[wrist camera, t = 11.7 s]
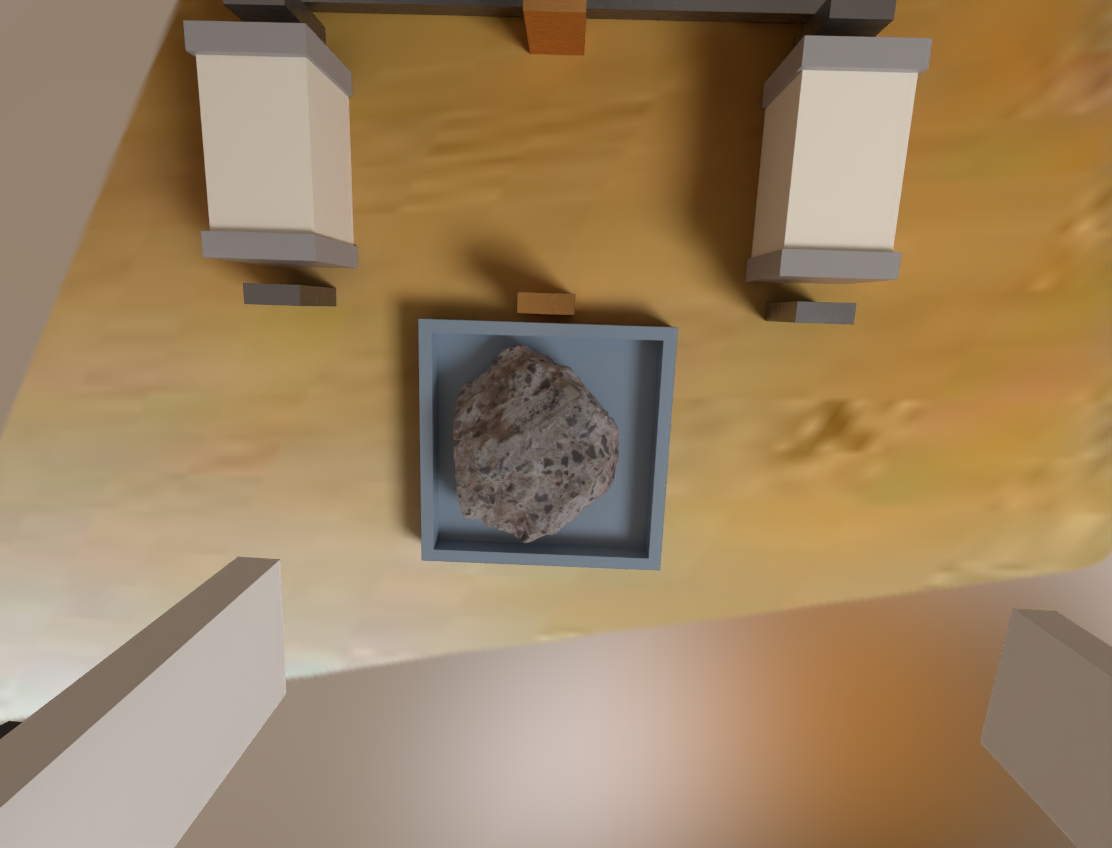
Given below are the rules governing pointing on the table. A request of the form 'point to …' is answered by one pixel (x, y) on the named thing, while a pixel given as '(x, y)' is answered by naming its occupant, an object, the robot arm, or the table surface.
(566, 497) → the rock
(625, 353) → the tray
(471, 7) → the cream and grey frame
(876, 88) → the fuse
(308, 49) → the fuse
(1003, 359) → the table surface
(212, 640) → the robot arm
